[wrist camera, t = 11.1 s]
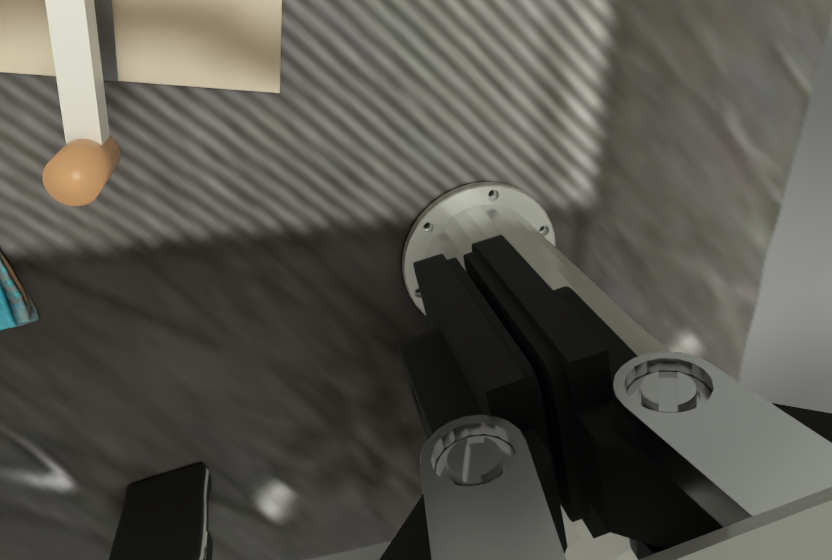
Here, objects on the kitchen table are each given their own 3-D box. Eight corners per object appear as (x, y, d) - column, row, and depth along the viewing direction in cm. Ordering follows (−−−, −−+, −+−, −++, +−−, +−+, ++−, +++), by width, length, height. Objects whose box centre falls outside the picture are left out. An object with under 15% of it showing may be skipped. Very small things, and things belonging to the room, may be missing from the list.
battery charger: (141, 515, 56) (118, 636, 46) (123, 484, 54) (95, 603, 44) (221, 489, 56) (215, 604, 46) (206, 458, 54) (197, 570, 44)
